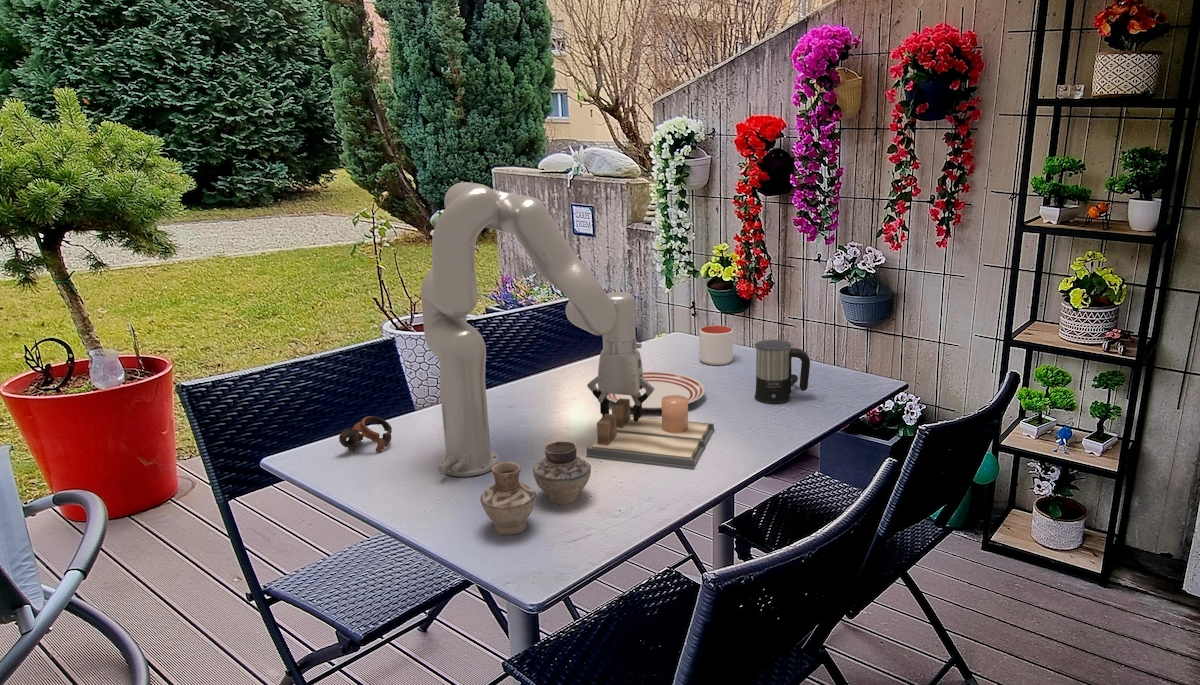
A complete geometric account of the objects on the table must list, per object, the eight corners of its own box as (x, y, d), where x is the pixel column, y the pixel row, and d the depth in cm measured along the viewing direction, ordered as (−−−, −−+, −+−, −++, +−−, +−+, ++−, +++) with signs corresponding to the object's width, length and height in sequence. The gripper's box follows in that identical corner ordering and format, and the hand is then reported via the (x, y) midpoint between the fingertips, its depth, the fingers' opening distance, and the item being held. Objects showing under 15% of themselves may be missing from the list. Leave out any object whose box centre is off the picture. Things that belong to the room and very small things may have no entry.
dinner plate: (726, 401, 201) (726, 389, 200) (642, 425, 187) (642, 413, 186) (660, 376, 223) (660, 365, 222) (581, 396, 209) (580, 384, 208)
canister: (684, 434, 175) (684, 405, 173) (659, 431, 177) (658, 402, 175) (690, 424, 180) (690, 396, 179) (665, 422, 182) (665, 394, 181)
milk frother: (760, 405, 197) (762, 350, 193) (740, 386, 212) (741, 334, 208) (814, 401, 199) (816, 346, 195) (790, 382, 214) (792, 330, 210)
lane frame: (693, 469, 162) (693, 461, 161) (585, 457, 169) (585, 449, 169) (714, 429, 182) (714, 422, 182) (617, 420, 190) (617, 413, 189)
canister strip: (700, 443, 173) (700, 417, 171) (607, 433, 180) (606, 408, 178) (708, 428, 181) (708, 403, 179) (619, 420, 188) (618, 396, 186)
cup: (698, 366, 230) (698, 333, 228) (700, 356, 240) (700, 325, 237) (732, 366, 229) (733, 334, 226) (732, 357, 238) (733, 325, 236)
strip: (690, 462, 163) (690, 435, 162) (592, 451, 170) (591, 425, 169) (699, 446, 171) (699, 419, 170) (605, 436, 178) (604, 411, 177)
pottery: (469, 530, 140) (464, 469, 137) (560, 480, 159) (558, 425, 156) (514, 549, 134) (509, 486, 130) (603, 494, 152) (601, 438, 149)
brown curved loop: (369, 438, 185) (382, 411, 183) (389, 464, 181) (403, 436, 178) (325, 442, 176) (338, 413, 173) (345, 469, 171) (359, 440, 168)
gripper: (660, 343, 178) (661, 416, 183) (589, 339, 184) (591, 409, 189) (651, 352, 172) (652, 427, 176) (578, 348, 177) (581, 420, 182)
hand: (621, 417), depth 183 cm, fingers open, 7 cm apart
